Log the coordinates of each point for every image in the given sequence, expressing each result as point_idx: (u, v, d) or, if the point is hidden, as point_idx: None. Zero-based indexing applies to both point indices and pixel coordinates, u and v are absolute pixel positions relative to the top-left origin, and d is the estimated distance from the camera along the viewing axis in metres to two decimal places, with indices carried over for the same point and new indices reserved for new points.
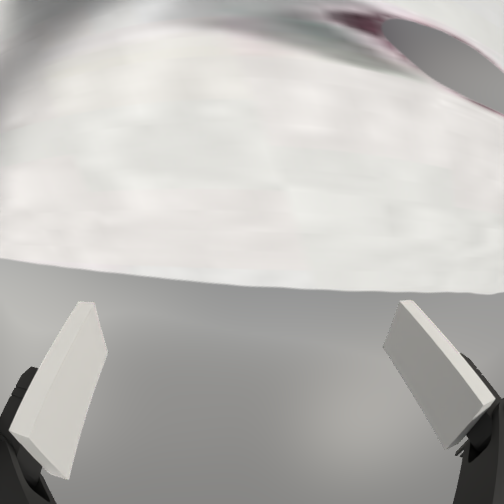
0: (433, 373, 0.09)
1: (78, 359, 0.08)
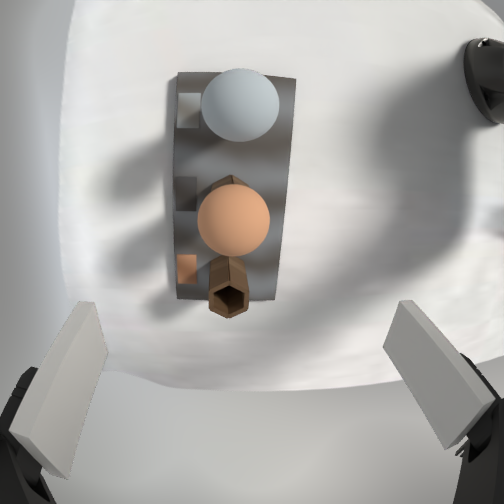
0: (433, 373, 0.09)
1: (78, 359, 0.08)
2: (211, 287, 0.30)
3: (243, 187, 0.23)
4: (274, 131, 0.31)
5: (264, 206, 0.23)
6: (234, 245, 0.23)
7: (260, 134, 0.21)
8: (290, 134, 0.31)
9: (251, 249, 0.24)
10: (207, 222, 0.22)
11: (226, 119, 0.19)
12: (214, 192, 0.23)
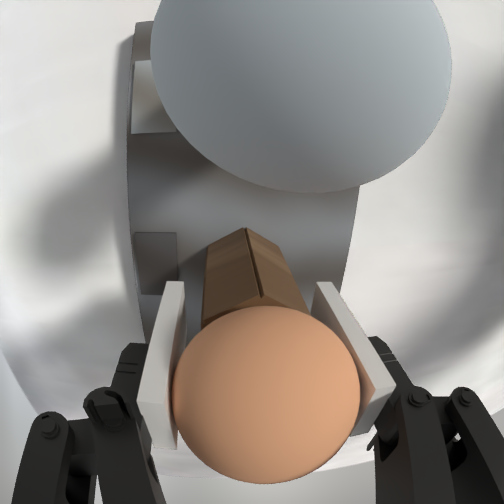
0: None
1: (179, 332, 0.11)
2: None
3: (302, 337, 0.07)
4: None
5: (356, 381, 0.07)
6: None
7: None
8: None
9: None
10: (198, 445, 0.06)
11: (267, 91, 0.03)
12: (211, 357, 0.07)
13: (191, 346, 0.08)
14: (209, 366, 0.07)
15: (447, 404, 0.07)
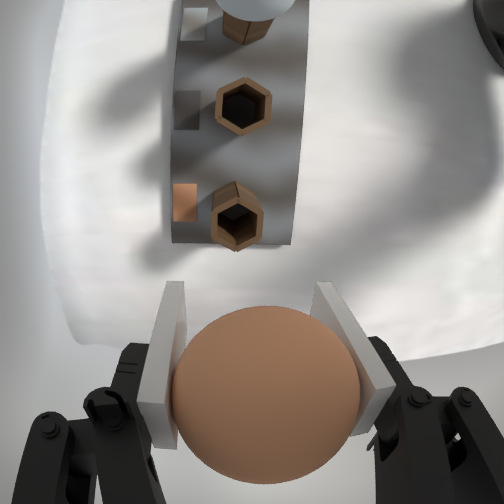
0: None
1: (179, 332, 0.11)
2: (215, 207, 0.23)
3: (302, 337, 0.07)
4: (288, 45, 0.24)
5: (356, 382, 0.07)
6: (274, 483, 0.07)
7: (279, 8, 0.14)
8: (305, 50, 0.24)
9: None
10: (198, 446, 0.06)
11: None
12: (211, 357, 0.07)
13: (191, 346, 0.08)
14: (209, 366, 0.07)
15: (447, 404, 0.07)
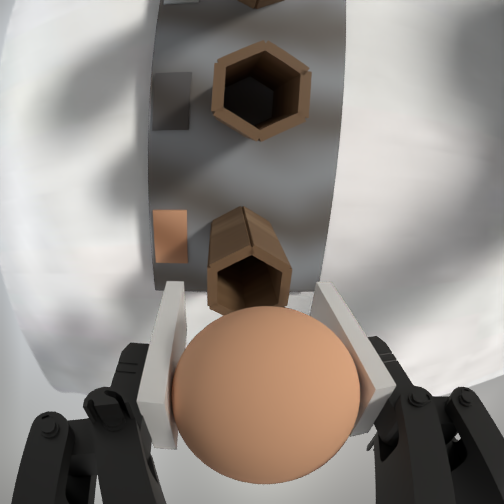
0: None
1: (179, 332, 0.11)
2: (213, 260, 0.14)
3: (302, 337, 0.07)
4: (319, 13, 0.15)
5: (356, 382, 0.07)
6: (274, 483, 0.07)
7: None
8: (343, 21, 0.15)
9: None
10: (198, 446, 0.06)
11: None
12: (210, 357, 0.07)
13: (191, 346, 0.08)
14: (209, 366, 0.07)
15: (447, 404, 0.07)
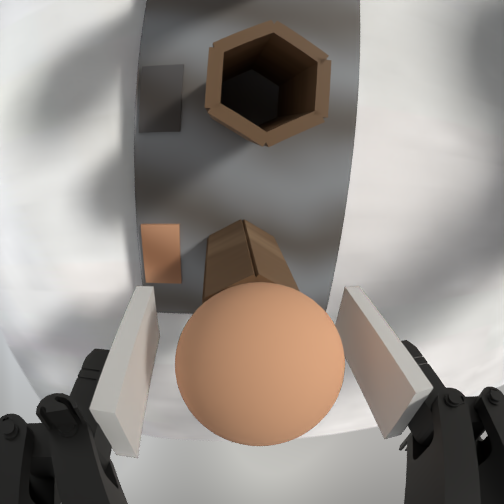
0: (372, 358, 0.10)
1: (144, 338, 0.10)
2: (209, 292, 0.12)
3: (290, 305, 0.09)
4: (330, 0, 0.12)
5: (340, 348, 0.09)
6: (267, 444, 0.08)
7: None
8: (357, 10, 0.13)
9: None
10: (199, 404, 0.08)
11: None
12: (211, 322, 0.08)
13: (194, 316, 0.09)
14: (209, 329, 0.08)
15: (477, 401, 0.07)
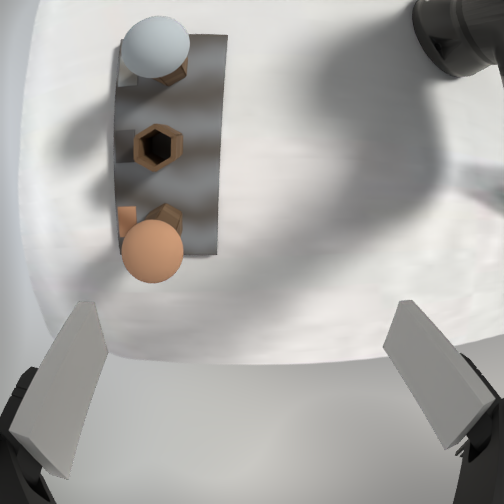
0: (433, 373, 0.09)
1: (78, 359, 0.08)
2: None
3: (156, 223, 0.26)
4: (206, 82, 0.30)
5: (174, 239, 0.26)
6: (148, 275, 0.25)
7: (169, 66, 0.20)
8: (222, 84, 0.30)
9: (165, 277, 0.26)
10: (125, 255, 0.25)
11: (135, 54, 0.18)
12: (132, 229, 0.25)
13: (129, 230, 0.26)
14: (131, 231, 0.25)
15: None
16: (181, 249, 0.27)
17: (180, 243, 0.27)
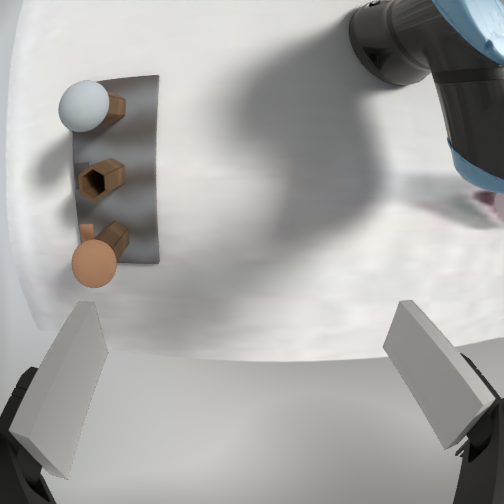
0: (433, 373, 0.09)
1: (78, 359, 0.08)
2: None
3: (93, 243, 0.32)
4: (141, 119, 0.35)
5: (106, 256, 0.32)
6: (87, 282, 0.31)
7: (91, 124, 0.26)
8: (154, 120, 0.36)
9: (101, 284, 0.32)
10: (72, 267, 0.31)
11: (65, 118, 0.24)
12: (77, 247, 0.31)
13: None
14: (77, 248, 0.31)
15: None
16: (112, 263, 0.33)
17: (111, 258, 0.33)
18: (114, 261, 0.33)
